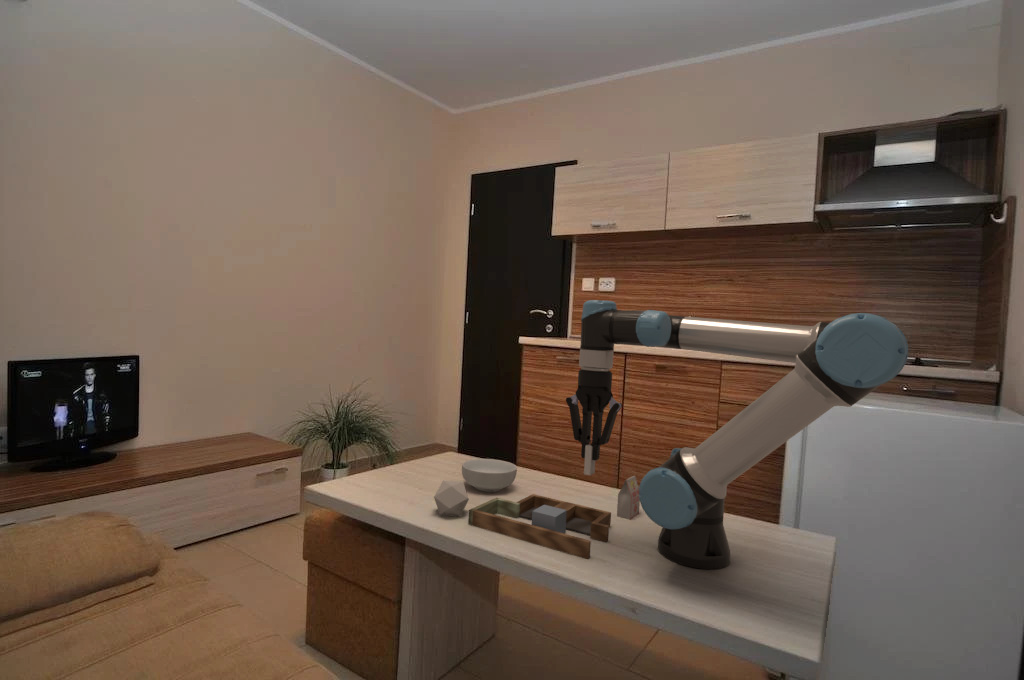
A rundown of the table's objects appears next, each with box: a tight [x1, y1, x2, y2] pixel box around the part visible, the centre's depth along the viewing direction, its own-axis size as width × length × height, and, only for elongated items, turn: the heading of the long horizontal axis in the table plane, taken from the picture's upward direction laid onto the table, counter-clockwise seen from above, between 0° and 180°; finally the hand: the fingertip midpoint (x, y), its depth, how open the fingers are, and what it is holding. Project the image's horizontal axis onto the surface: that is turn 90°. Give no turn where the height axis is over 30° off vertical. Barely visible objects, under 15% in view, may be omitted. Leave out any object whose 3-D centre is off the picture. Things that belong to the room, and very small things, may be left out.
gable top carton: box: [616, 475, 641, 520], centre depth 136 cm, size 4×7×10 cm, turn 146°
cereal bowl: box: [461, 458, 518, 493], centre depth 154 cm, size 17×17×7 cm
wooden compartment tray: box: [467, 493, 612, 560], centre depth 124 cm, size 31×22×4 cm
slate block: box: [531, 505, 567, 534], centre depth 119 cm, size 6×6×6 cm
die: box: [433, 480, 469, 517], centre depth 130 cm, size 8×9×10 cm
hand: (589, 473), depth 114 cm, fingers closed
